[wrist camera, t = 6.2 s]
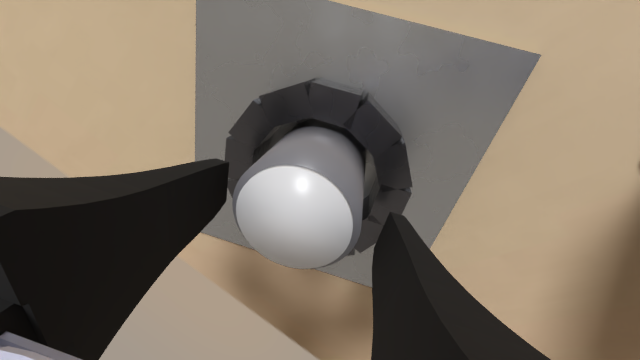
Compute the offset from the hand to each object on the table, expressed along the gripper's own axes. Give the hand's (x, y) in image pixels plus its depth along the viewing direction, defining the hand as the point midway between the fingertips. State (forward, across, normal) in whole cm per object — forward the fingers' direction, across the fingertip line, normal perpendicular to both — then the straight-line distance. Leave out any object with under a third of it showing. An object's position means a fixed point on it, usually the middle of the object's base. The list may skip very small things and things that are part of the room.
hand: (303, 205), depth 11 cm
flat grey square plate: (+5, 0, 0) cm, 5 cm away
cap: (+4, 0, 0) cm, 5 cm away
